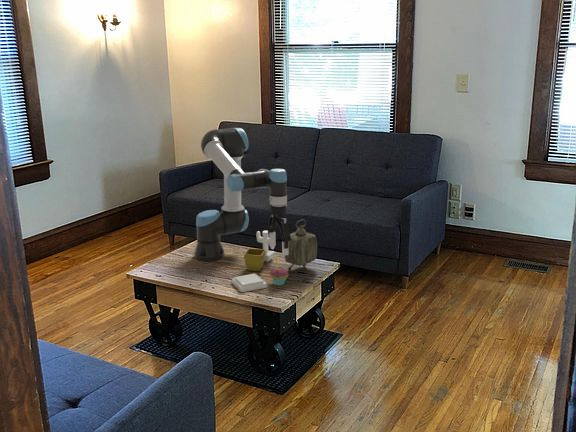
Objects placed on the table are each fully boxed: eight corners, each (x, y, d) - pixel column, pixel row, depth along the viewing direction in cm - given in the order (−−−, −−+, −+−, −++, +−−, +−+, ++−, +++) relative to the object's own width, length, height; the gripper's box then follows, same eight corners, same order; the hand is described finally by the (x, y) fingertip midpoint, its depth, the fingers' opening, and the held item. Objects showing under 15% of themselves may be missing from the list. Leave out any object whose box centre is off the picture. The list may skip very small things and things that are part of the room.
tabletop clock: (304, 263, 299) (304, 214, 292) (318, 267, 293) (318, 218, 286) (284, 271, 289) (283, 221, 282) (298, 275, 283) (298, 224, 276)
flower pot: (261, 273, 286) (261, 255, 284) (243, 272, 288) (243, 254, 285) (266, 266, 295) (265, 249, 292) (248, 265, 296) (248, 248, 294)
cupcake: (282, 288, 269) (282, 263, 265) (266, 284, 273) (265, 259, 269) (291, 281, 276) (291, 257, 273) (275, 278, 280) (275, 254, 277)
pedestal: (232, 282, 275) (231, 276, 274) (256, 278, 280) (256, 272, 279) (241, 292, 265) (241, 285, 264) (266, 287, 270) (266, 281, 269)
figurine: (271, 263, 299) (270, 234, 295) (254, 260, 303) (253, 232, 299) (277, 258, 305) (277, 230, 301) (260, 256, 309) (260, 228, 305)
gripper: (259, 199, 273) (260, 243, 279) (282, 212, 252) (283, 260, 257) (274, 197, 276) (274, 241, 282) (298, 210, 255) (298, 257, 260)
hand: (278, 250), depth 270 cm, fingers open, 13 cm apart
